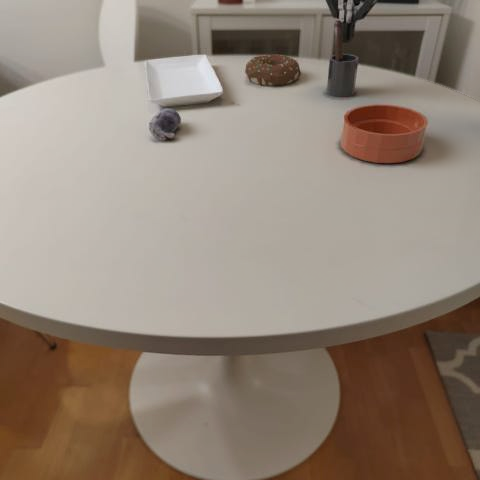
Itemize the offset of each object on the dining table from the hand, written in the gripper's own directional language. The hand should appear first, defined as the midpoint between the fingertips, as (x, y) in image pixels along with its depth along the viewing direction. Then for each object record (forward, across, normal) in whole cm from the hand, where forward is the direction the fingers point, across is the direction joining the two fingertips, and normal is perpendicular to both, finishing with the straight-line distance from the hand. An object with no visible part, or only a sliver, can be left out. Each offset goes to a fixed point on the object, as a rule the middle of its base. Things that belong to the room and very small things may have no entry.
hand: (345, 41), depth 98 cm
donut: (+11, +19, +2) cm, 22 cm away
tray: (+11, +33, +20) cm, 40 cm away
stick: (+11, 0, 0) cm, 11 cm away
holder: (+11, 0, 0) cm, 11 cm away
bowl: (+11, -22, +19) cm, 31 cm away
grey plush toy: (+11, +14, +40) cm, 44 cm away
